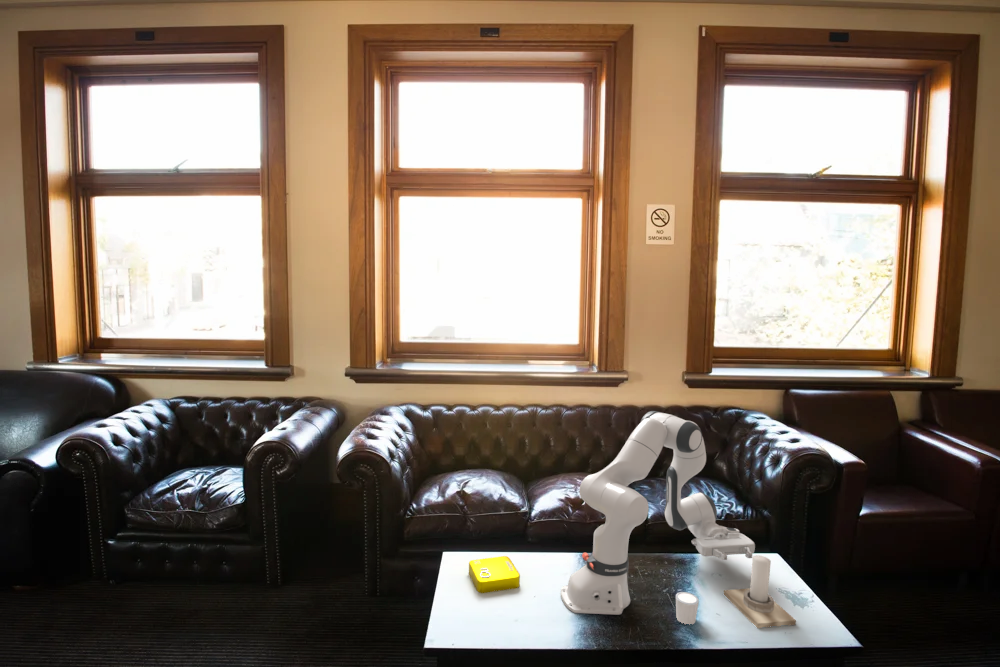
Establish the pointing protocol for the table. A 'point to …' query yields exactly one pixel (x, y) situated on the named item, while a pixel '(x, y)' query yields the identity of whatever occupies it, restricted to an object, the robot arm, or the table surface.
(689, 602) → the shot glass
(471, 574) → the element tile
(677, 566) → the table surface
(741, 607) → the roll holder
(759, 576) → the paper roll
